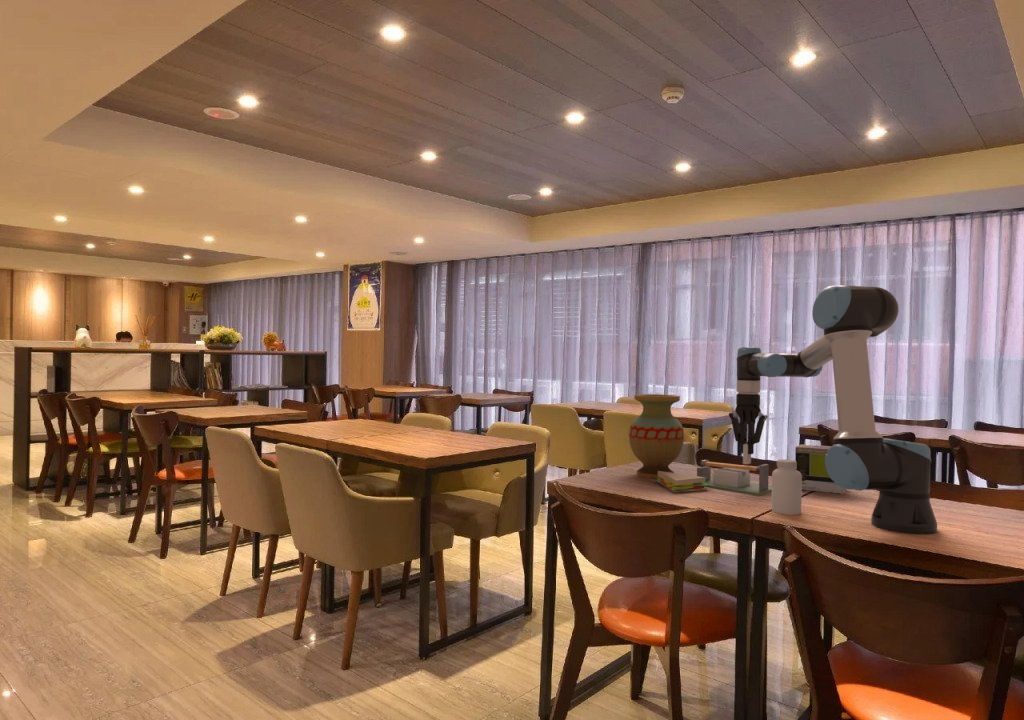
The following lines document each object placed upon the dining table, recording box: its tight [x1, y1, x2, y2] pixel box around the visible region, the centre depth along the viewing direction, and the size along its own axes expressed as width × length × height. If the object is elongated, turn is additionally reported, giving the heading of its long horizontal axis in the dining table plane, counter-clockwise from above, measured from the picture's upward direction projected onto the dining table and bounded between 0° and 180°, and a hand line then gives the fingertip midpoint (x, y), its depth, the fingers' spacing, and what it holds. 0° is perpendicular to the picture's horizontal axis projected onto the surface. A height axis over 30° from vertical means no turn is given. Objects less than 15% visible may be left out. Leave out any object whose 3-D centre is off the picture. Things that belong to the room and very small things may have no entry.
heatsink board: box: [696, 463, 772, 497], centre depth 234 cm, size 28×16×9 cm, turn 44°
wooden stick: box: [698, 459, 759, 472], centre depth 234 cm, size 21×4×2 cm, turn 44°
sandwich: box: [656, 471, 710, 493], centre depth 230 cm, size 15×20×5 cm
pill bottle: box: [771, 459, 803, 516], centre depth 196 cm, size 8×8×15 cm
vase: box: [628, 393, 685, 479], centre depth 252 cm, size 20×20×30 cm
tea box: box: [794, 444, 847, 494], centre depth 232 cm, size 15×10×15 cm, turn 58°
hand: (746, 463), depth 229 cm, fingers closed
